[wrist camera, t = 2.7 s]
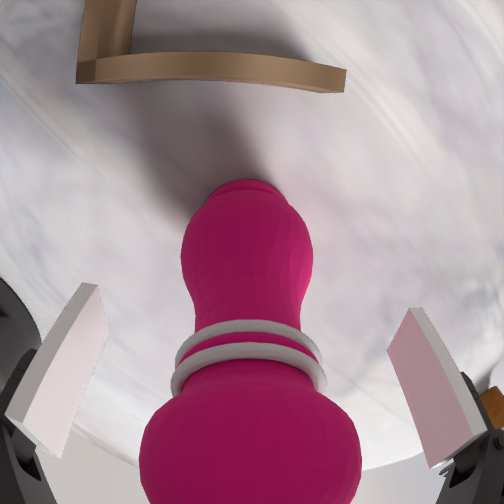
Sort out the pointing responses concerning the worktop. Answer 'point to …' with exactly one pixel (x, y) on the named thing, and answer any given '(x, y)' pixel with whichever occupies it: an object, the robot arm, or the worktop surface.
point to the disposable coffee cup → (494, 406)
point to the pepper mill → (248, 369)
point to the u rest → (182, 58)
